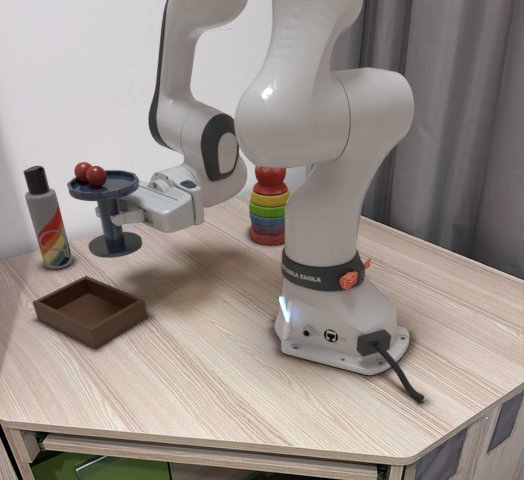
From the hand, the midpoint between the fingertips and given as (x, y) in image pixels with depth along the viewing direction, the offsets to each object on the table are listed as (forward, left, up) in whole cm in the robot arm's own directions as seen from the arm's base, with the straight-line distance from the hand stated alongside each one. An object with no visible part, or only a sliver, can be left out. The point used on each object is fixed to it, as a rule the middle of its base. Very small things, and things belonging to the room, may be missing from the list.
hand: (105, 217), depth 89 cm
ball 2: (0, 0, +7) cm, 7 cm away
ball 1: (+3, 0, +7) cm, 8 cm away
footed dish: (0, -1, -5) cm, 6 cm away
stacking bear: (-5, -40, -17) cm, 44 cm away
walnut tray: (+1, +6, -17) cm, 18 cm away
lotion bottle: (+24, -4, -17) cm, 30 cm away
